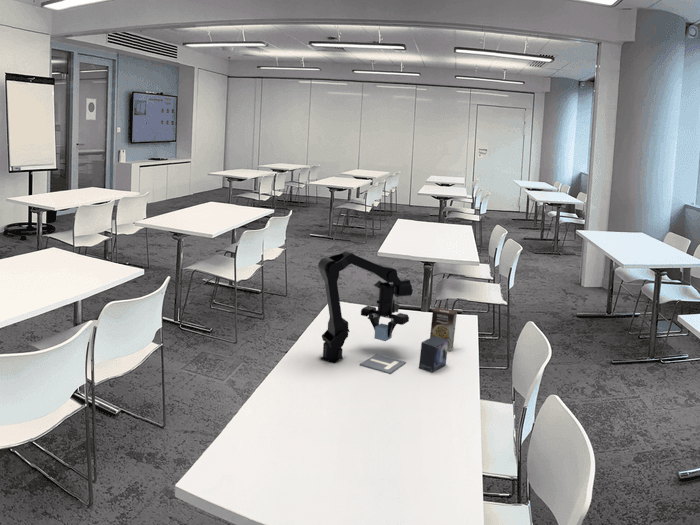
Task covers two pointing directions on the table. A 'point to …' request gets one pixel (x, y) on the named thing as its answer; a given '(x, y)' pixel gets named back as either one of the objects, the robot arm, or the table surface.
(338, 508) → the table surface
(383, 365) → the letter card
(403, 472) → the table surface
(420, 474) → the table surface
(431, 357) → the small box
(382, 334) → the blue cube
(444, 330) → the coffee box
